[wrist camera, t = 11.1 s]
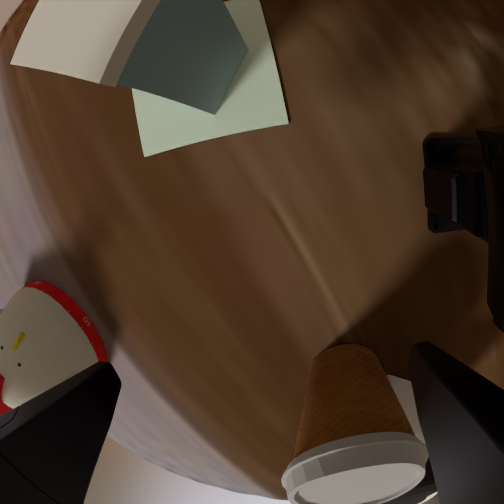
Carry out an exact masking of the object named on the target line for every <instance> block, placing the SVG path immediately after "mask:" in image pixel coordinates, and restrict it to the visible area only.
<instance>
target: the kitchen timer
mask: <svg viewBox="0 0 504 504" xmlns="http://www.w3.org/2000/svg"><path fill="white" fill-rule="evenodd" d="M99 361H104V362H107V355H106V352H105V348H104V345H103V342H102V340H101V338H100V336H99V334H98V333H97V331H96V329H95V327H94V325H93V324H92V323H91V321H90V320H89V319H88V317H87V316H86V314H85V313H84V311H83V310H82V309H81V308H80V307H79V306H78V305H77V304H76V303H75V302H74V301H73V300H72V299H71V298H70V297H69V296H68V295H66V294H65V293H64V292H63V291H61V290H60V289H59V288H57V287H55V286H53V285H51V284H49V283H47V282H43V281H34V282H32V283H30V284H28V285H27V286H25V287H24V288H22V289H21V290H19V291H18V292H17V293H16V294H15V295H14V296H13V297H12V298H11V299H10V301H9V302H8V304H7V305H6V307H5V308H4V309H0V415H2V414H4V413H6V412H8V411H10V410H12V409H14V408H16V407H18V406H20V405H21V404H23V403H25V402H27V401H29V400H30V399H32V398H34V397H36V396H38V395H40V394H41V393H43V392H45V391H47V390H49V389H50V388H52V387H54V386H56V385H58V384H59V383H61V382H63V381H65V380H67V379H68V378H70V377H72V376H74V375H75V374H77V373H79V372H81V371H83V370H84V369H86V368H88V367H90V366H91V365H93V364H95V363H97V362H99Z"/></svg>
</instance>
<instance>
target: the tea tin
mask: <svg viewBox="0 0 504 504" xmlns="http://www.w3.org/2000/svg"><path fill="white" fill-rule="evenodd" d="M247 52H248V48H247V46H246V44H245V42H244V40H243V38H242V36H241V34H240V32H239V30H238V28H237V26H236V24H235V22H234V20H233V18H232V17H231V15H230V13H229V11H228V9H227V7H226V5H225V4H224V2H223V0H39V2H38V4H37V6H36V8H35V9H34V11H33V13H32V15H31V17H30V19H29V21H28V23H27V25H26V28H25V30H24V32H23V34H22V36H21V39H20V41H19V43H18V46H17V48H16V51H15V53H14V56H13V58H12V61H11V64H13V65H19V66H25V67H31V68H36V69H41V70H46V71H51V72H55V73H60V74H64V75H68V76H72V77H76V78H80V79H84V80H88V81H92V82H95V83H99V84H103V85H108V86H112V87H116V84H119V85H123V86H126V87H130V88H134V89H137V90H141V91H144V92H148V93H151V94H154V95H157V96H161V97H164V98H167V99H170V100H173V101H176V102H179V103H182V104H185V105H188V106H191V107H194V108H196V109H199V110H202V111H205V112H207V113H210V114H213V115H215V114H216V112H217V110H218V107H219V105H220V103H221V101H222V99H223V97H224V95H225V93H226V91H227V89H228V87H229V86H230V84H231V82H232V80H233V78H234V76H235V74H236V72H237V70H238V68H239V67H240V65H241V63H242V61H243V59H244V57H245V56H246V54H247Z"/></svg>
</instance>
